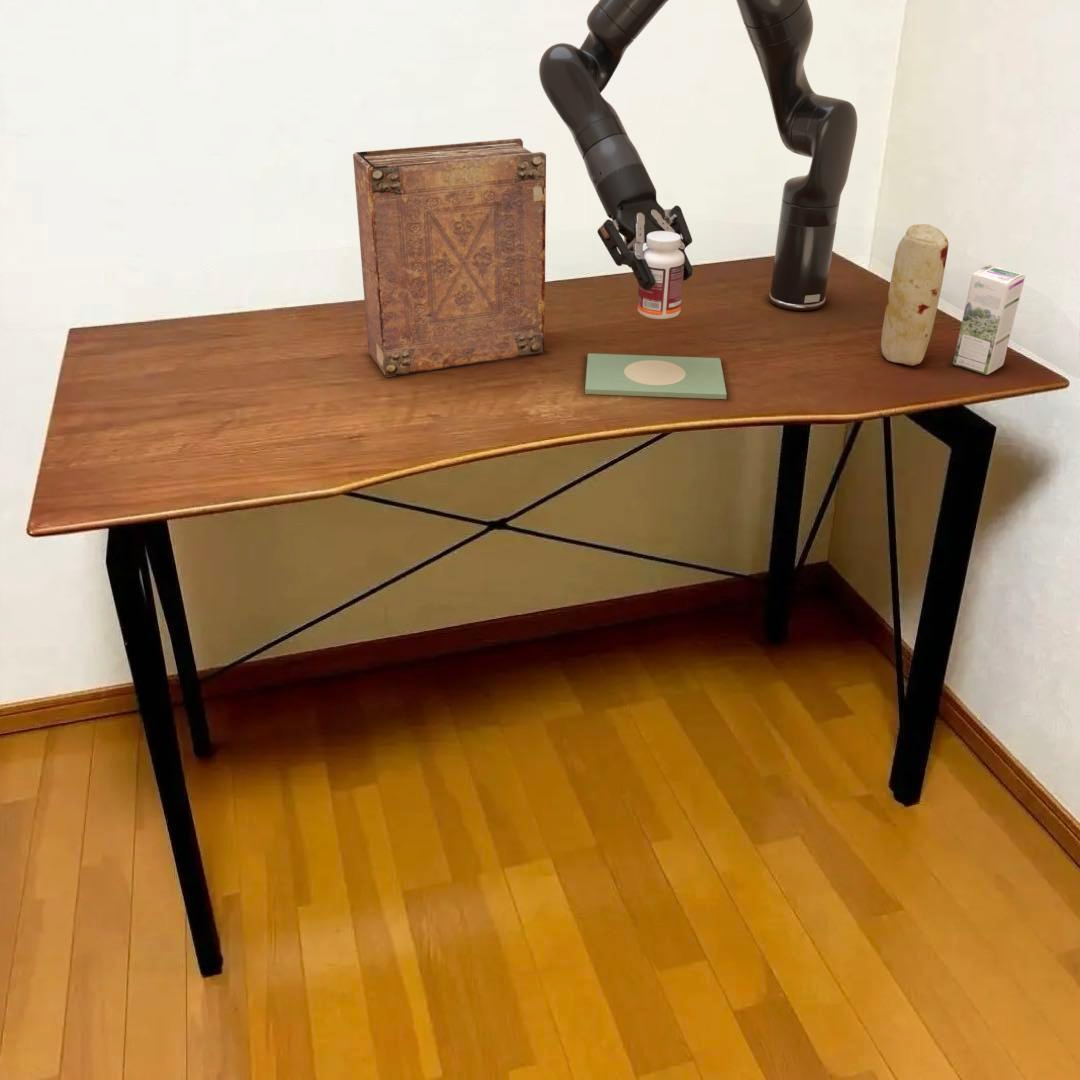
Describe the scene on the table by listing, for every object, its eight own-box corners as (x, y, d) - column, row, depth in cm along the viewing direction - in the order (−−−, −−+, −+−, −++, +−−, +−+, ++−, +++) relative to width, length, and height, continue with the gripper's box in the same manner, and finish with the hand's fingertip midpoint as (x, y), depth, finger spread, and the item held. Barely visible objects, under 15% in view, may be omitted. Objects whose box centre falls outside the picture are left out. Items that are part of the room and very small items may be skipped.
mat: (587, 358, 170) (587, 352, 169) (719, 362, 169) (720, 357, 168) (584, 394, 159) (585, 388, 158) (726, 399, 158) (726, 393, 157)
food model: (936, 369, 168) (964, 237, 157) (894, 371, 167) (920, 239, 156) (907, 344, 176) (933, 217, 165) (867, 346, 175) (890, 219, 164)
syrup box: (1004, 365, 169) (1027, 272, 161) (986, 376, 166) (1009, 282, 158) (968, 354, 173) (990, 263, 165) (950, 365, 169) (971, 272, 161)
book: (522, 332, 178) (523, 137, 162) (544, 354, 171) (548, 152, 155) (367, 355, 170) (352, 151, 154) (384, 378, 163) (370, 167, 147)
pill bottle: (673, 303, 162) (679, 228, 156) (686, 319, 157) (693, 241, 151) (631, 305, 161) (636, 229, 155) (643, 321, 156) (648, 243, 150)
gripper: (591, 168, 150) (643, 279, 148) (671, 154, 157) (722, 259, 155) (566, 199, 156) (616, 305, 154) (644, 184, 163) (692, 285, 162)
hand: (669, 282), depth 155 cm, fingers closed on pill bottle, 6 cm apart
